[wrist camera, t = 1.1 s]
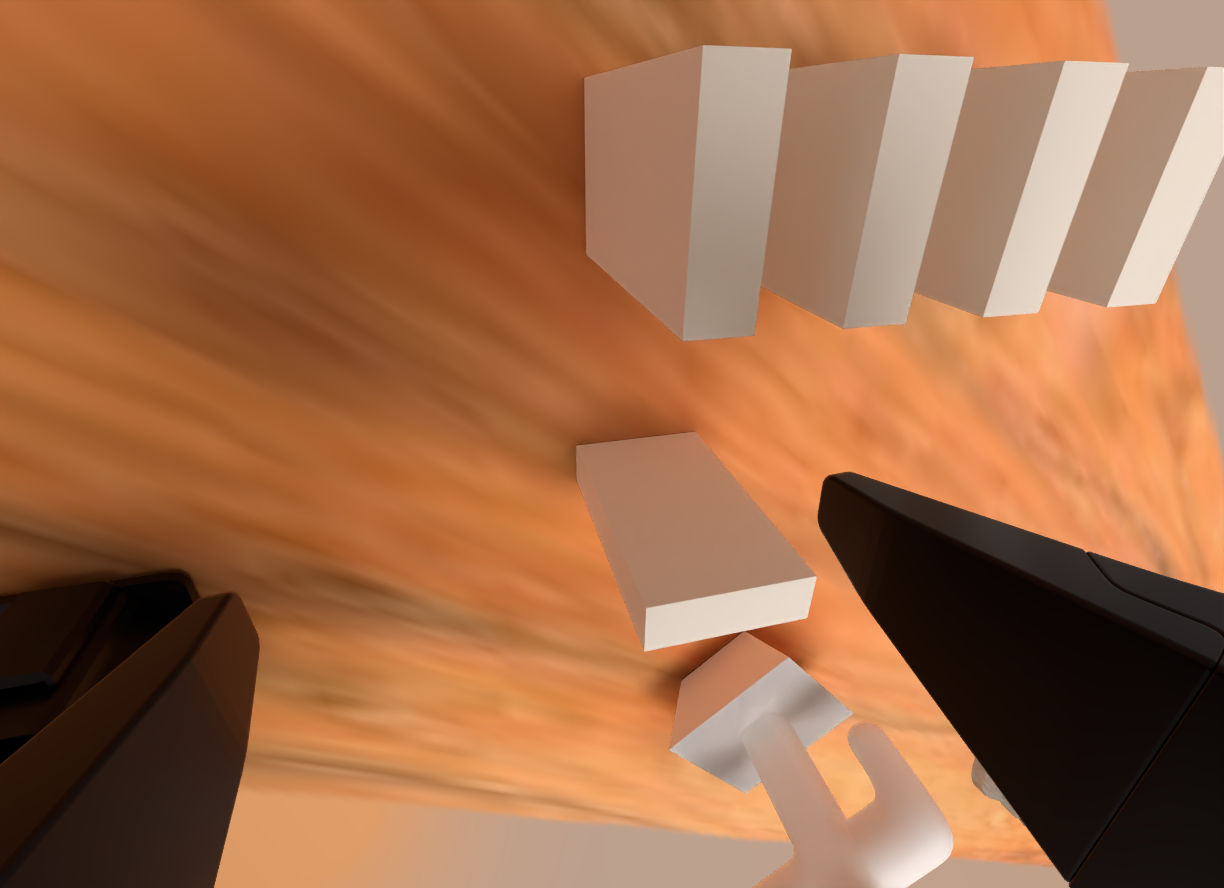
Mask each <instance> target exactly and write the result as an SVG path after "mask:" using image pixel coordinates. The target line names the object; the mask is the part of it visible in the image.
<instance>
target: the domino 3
mask: <svg viewBox="0 0 1224 888" xmlns="http://www.w3.org/2000/svg"><path fill="white" fill-rule="evenodd" d="M973 60H974V57H961V56H938V55H914V54H895V55H887V56H880V57H873V58H866V59H858V60H851V61H844V62H836V63H829V64H822V65H814V66H807V67H800V68H793V69H789V74H788V82H787V90H786V97H785V105H784V113H783V120H782V128H781V136H780V143H779V151H778V158H777V166H776V174H775V181H774V189H773V197H772V204H771V212H770V220H769V227H768V235H767V243H766V250H765V258H764V266H763V273H762V281H761V287H763V288H765V289H767V290H769V291H771V292H773V293H775V294H777V295H778V296H780V297H782V298H784V299H786V300H788V301H790V302H792V303H794V304H796V305H798V306H800V307H802V308H804V309H806V310H808V311H810V312H811V313H813V314H815V315H817V316H819V317H821V318H823V319H825V320H827V321H829V322H831V323H833V324H835V325H837V326H839V327H841V328H842V329H846V328H858V327H871V326H883V325H895V324H906V320H907V316H908V312H909V309H910V305H911V301H912V297H913V293H914V289H915V285H916V281H917V277H918V274H919V270H920V266H921V262H922V258H923V254H924V250H925V246H926V242H927V239H928V235H929V231H930V227H931V223H932V219H933V215H934V211H935V207H936V204H937V200H938V196H939V192H940V188H941V184H942V180H943V176H944V173H945V169H946V165H947V161H948V157H949V153H950V149H951V145H952V141H953V138H954V134H955V130H956V126H957V122H958V118H959V114H960V110H961V106H962V103H963V99H964V95H965V91H966V87H967V83H968V79H969V75H970V71H971V68H972V64H973Z"/></svg>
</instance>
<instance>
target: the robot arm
mask: <svg viewBox="0 0 1224 888" xmlns="http://www.w3.org/2000/svg"><path fill="white" fill-rule="evenodd" d="M818 523H819V527H820V529H821V531H822V533H823V535H824V536H825V538H826V540H827V542H828V543H829V545H830V547H831V548H832V550H833V552H834V554H835V555H836V557H837V559H838V561H839V562H840V564H841V566H842V567H843V569H844V571H845V573H846V574H847V576H848V578H849V579H850V581H851V583H852V585H853V586H854V588H855V590H856V591H857V593H858V595H859V596H860V598H861V599H862V601H863V603H864V604H865V606H866V607H867V609H868V610H869V611H870V613H871V614H872V616H873V617H874V619H875V620H876V621H877V623H878V624H879V625H880V627H881V628H882V629H883V631H884V632H885V634H886V635H887V636H888V638H889V639H890V640H891V642H892V643H893V645H894V646H895V647H896V649H897V650H898V651H899V653H900V654H901V656H902V657H903V658H904V660H905V661H906V662H907V664H908V665H909V667H910V668H911V669H912V671H913V672H914V673H915V675H916V676H917V678H918V679H919V680H920V682H921V683H922V684H923V686H924V687H925V689H926V690H927V691H928V693H929V694H930V695H931V697H932V698H933V700H934V701H935V702H936V704H937V705H938V706H939V708H940V709H941V711H942V712H943V713H944V715H945V716H946V717H947V719H948V720H949V722H950V723H951V724H952V726H953V727H954V728H955V730H956V731H957V733H958V734H959V735H960V737H961V738H962V739H963V741H964V742H965V744H966V745H967V746H968V748H969V749H970V750H971V752H972V753H973V755H974V756H975V757H976V759H977V760H978V761H979V763H980V764H981V766H982V767H983V768H984V770H985V771H986V772H987V774H988V775H989V777H990V778H991V779H992V781H993V782H994V783H995V785H996V786H997V787H998V789H999V790H1000V792H1001V793H1002V794H1003V796H1004V797H1005V798H1006V800H1007V801H1008V803H1009V804H1010V805H1011V807H1012V808H1013V809H1014V811H1015V812H1016V814H1017V815H1018V816H1019V818H1020V819H1021V820H1022V822H1023V823H1024V825H1025V826H1026V827H1027V829H1028V830H1029V831H1030V833H1031V834H1032V836H1033V837H1034V838H1035V840H1036V841H1037V842H1038V844H1039V845H1040V847H1041V848H1042V849H1043V851H1044V852H1045V853H1046V855H1047V856H1048V858H1049V859H1050V860H1051V862H1052V863H1053V864H1054V866H1055V867H1056V869H1057V870H1058V871H1059V873H1060V874H1061V875H1062V877H1063V878H1064V880H1066V881H1067V882H1069V887H1070V888H1224V593H1220V592H1217V591H1214V590H1210V589H1207V588H1203V587H1200V586H1197V585H1193V584H1190V583H1187V582H1183V581H1180V580H1177V579H1173V578H1170V577H1166V576H1163V575H1160V574H1157V573H1154V572H1151V571H1148V570H1144V569H1141V568H1138V567H1135V566H1132V565H1129V564H1126V563H1123V562H1120V561H1117V560H1114V559H1111V558H1108V557H1105V556H1102V555H1099V554H1096V553H1093V552H1085V551H1084V550H1083V549H1080V548H1077V547H1074V546H1071V545H1068V544H1065V543H1062V542H1059V541H1056V540H1053V539H1050V538H1047V537H1044V536H1041V535H1038V534H1035V533H1032V532H1030V531H1027V530H1024V529H1021V528H1018V527H1015V526H1012V525H1009V524H1006V523H1003V522H1000V521H997V520H994V519H991V518H988V517H985V516H982V515H979V514H976V513H973V512H970V511H967V510H964V509H961V508H958V507H955V506H952V505H949V504H946V503H943V502H940V501H937V500H934V499H931V498H928V497H925V496H922V495H919V494H916V493H913V492H910V491H907V490H904V489H901V488H898V487H895V486H892V485H889V484H886V483H883V482H880V481H877V480H874V479H871V478H868V477H865V476H862V475H859V474H856V473H853V472H843V473H838V474H833V475H829V476H827V477H826V478H825V480H824V481H823V485H822V491H821V497H820V503H819V510H818ZM168 585H173V586H175V587H177V588H178V589H172V588H170V587H169V586H168ZM259 650H260V644H259V637H258V634H257V631H256V629H255V627H254V625H253V623H252V621H251V619H250V616H249V614H248V612H247V610H246V608H245V606H244V604H243V602H242V600H241V598H240V597H239V595H238V594H237V593H234V592H225V593H220V594H215V595H210V596H205V597H202V598H200V599H199V598H198V596H197V594H196V592H195V589H194V587H193V585H192V583H191V581H190V579H189V578H188V577H187V576H185V575H183V574H180V573H164V574H157V575H150V576H143V577H136V578H130V579H123V580H116V581H109V582H96V583H89V584H83V585H76V586H69V587H62V588H55V589H48V590H41V591H34V592H27V593H22V594H20V595H13V596H6V597H0V888H214V885H215V881H216V877H217V873H218V869H219V865H220V861H221V856H222V853H223V849H224V845H225V841H226V837H227V833H228V828H229V824H230V820H231V816H232V812H233V808H234V804H235V800H236V796H237V792H238V788H239V784H240V780H241V776H242V772H243V767H244V762H245V758H246V752H247V746H248V739H249V731H250V723H251V715H252V707H253V699H254V691H255V683H256V675H257V667H258V659H259Z"/></svg>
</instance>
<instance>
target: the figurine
mask: <svg viewBox="0 0 1224 888" xmlns="http://www.w3.org/2000/svg"><path fill="white" fill-rule="evenodd" d="M852 714H854V713H852V712H851V711H850V710H849V709H848V708H847V707H846V706H844V705H843V704H842V703H841V702H840V701H839V700H838V699H836V698H835V697H834V696H833V695H832V694H831V693H829V692H828V691H827V690H826V689H825V688H824V687H823V686H821V685H820V684H819V683H818V682H817V681H816V680H815V679H813V678H812V677H811V676H810V675H809V674H808V673H806V672H805V671H804V670H803V669H802V668H801V667H800V666H798V665H797V664H796V663H795V662H794V661H793V660H792V659H790V658H789V657H788V656H786V655H784V654H783V653H781V652H779V651H778V650H776V649H774V648H772V647H771V646H769V645H767V644H766V643H764V642H762V641H761V640H759V639H757V638H756V637H754V636H752V635H750V634H749V633H747V632H745V631H743V632H742V633H741V634H740V635H738V636H737V637H736V638H735V639H733V640H732V641H731V642H730V643H728V644H727V645H726V646H725V647H723V648H722V649H721V650H719V651H718V652H717V653H716V654H714V655H713V656H712V657H711V658H709V659H708V660H707V661H706V662H704V663H703V664H702V665H701V666H699V667H698V668H697V669H695V670H694V671H693V672H692V673H690V674H689V675H688V676H687V677H685V678H684V679H683V680H682V681H681V686H680V692H679V697H678V702H677V708H676V713H675V719H674V724H673V730H672V735H671V740H670V746H669V750H670V751H672V752H673V753H675V754H677V755H679V756H680V757H682V758H684V759H686V760H688V761H689V762H691V763H693V764H695V765H696V766H698V767H700V768H702V769H703V770H705V771H707V772H709V773H710V774H712V775H714V776H716V777H718V778H719V779H721V780H723V781H725V782H726V783H728V784H730V785H732V786H733V787H735V788H737V789H739V790H740V791H742V792H744V793H747V792H748V791H750V790H751V789H752V788H754V787H755V786H756V785H758V784H759V783H761V782H762V783H763V785H764V787H765V789H766V791H767V793H768V795H769V797H770V799H771V801H772V803H773V805H774V807H775V809H776V811H777V813H778V815H779V817H780V820H781V822H782V824H783V826H784V828H785V830H786V832H787V834H788V836H789V838H790V840H791V842H792V844H793V846H794V854H793V857H792V858H791V859H790V860H789V861H788V862H787V863H786V864H784V865H783V866H782V867H780V868H779V869H778V870H776V871H774V872H773V873H772V874H770V875H769V876H767V877H766V878H765V879H763V880H762V881H760V882H759V883H758V884H756V885H755V886H754V887H753V888H907V887H908V886H909V885H911V884H912V883H914V882H915V881H917V880H918V879H920V878H921V877H923V876H924V875H926V874H927V873H929V872H930V871H931V870H933V869H935V868H936V867H937V866H939V865H940V864H942V863H943V862H944V861H945V860H946V859H947V858H948V857H949V856H950V854H951V852H952V849H953V843H954V842H953V835H952V832H951V829H950V827H949V825H948V823H947V821H946V819H945V817H944V815H943V813H942V812H941V810H940V808H939V807H938V805H937V804H936V802H935V801H934V799H933V798H932V796H931V795H930V793H929V792H928V791H927V789H926V788H925V787H924V785H923V784H922V782H921V781H920V780H919V778H918V777H917V776H916V774H915V773H914V771H913V770H912V769H911V767H910V766H909V765H908V763H907V762H906V761H905V759H904V758H903V757H902V755H901V754H900V752H899V751H898V750H897V748H896V747H895V746H894V744H893V743H892V742H891V740H890V739H889V737H888V736H887V735H886V734H885V733H884V731H883V730H882V729H881V728H880V727H878V726H877V725H875V724H873V723H871V722H859V723H857V724H855V725H854V726H853V727H852V728H851V729H850V731H849V733H848V742H849V745H850V747H851V749H852V751H853V752H854V754H855V756H856V757H857V759H858V760H859V762H860V763H861V765H862V766H863V768H864V769H865V771H866V773H867V775H868V776H869V778H870V780H871V782H872V784H873V787H874V790H875V799H874V801H873V802H871V803H870V804H869V805H867V806H866V807H864V808H863V809H862V810H860V811H859V812H857V813H856V814H855V815H853V816H852V817H850V818H849V819H848V820H847V819H846V817H845V815H844V814H843V812H842V810H841V808H840V807H839V805H838V803H837V802H836V800H835V798H834V797H833V795H832V793H831V791H830V790H829V788H828V786H827V785H826V783H825V781H824V780H823V778H822V776H821V774H820V773H819V771H818V769H817V768H816V766H815V764H814V763H813V761H812V759H811V757H810V756H809V754H808V752H807V751H806V748H808V747H809V746H810V745H812V744H813V743H814V742H816V741H817V740H819V739H820V738H821V737H823V736H824V735H825V734H827V733H828V732H829V731H831V730H832V729H833V728H835V727H836V726H837V725H839V724H840V723H841V722H843V721H844V720H845V719H847V718H848V717H850V716H851V715H852Z"/></svg>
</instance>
